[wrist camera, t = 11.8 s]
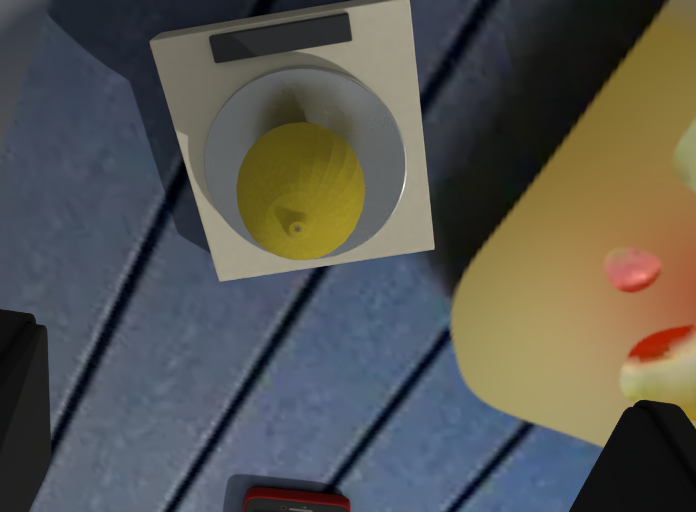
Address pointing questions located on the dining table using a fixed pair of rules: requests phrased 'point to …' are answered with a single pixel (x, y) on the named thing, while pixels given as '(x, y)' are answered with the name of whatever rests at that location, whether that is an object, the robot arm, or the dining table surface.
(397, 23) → the scale
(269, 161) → the lemon
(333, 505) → the cell phone
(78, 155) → the dining table surface
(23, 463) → the robot arm
